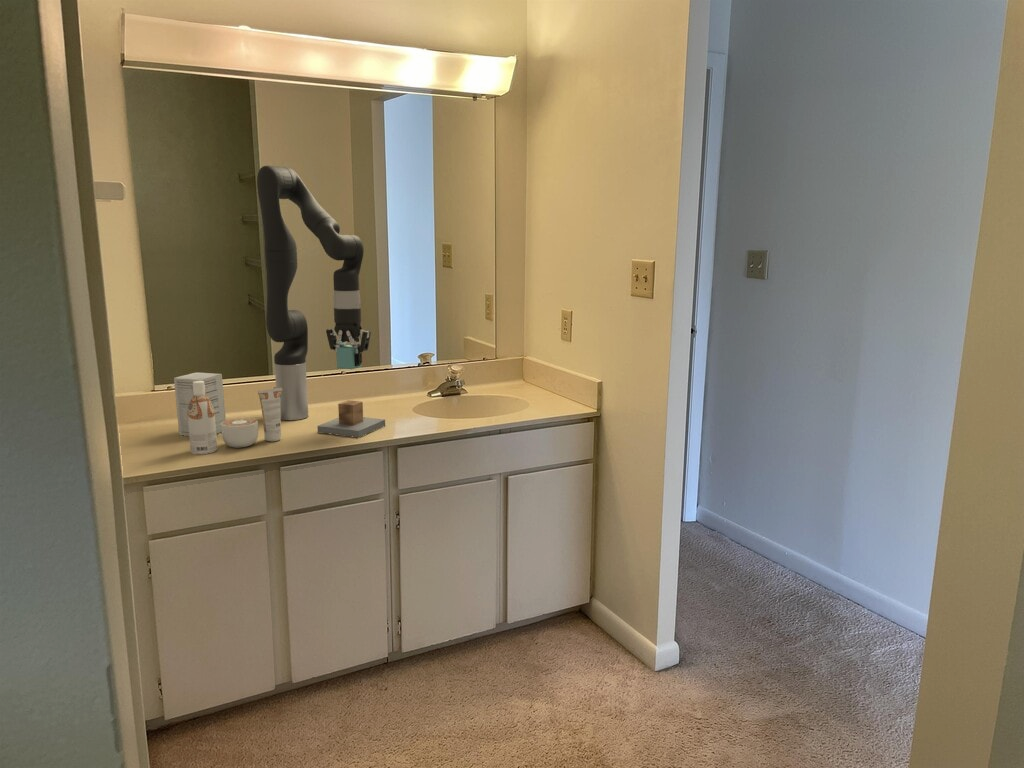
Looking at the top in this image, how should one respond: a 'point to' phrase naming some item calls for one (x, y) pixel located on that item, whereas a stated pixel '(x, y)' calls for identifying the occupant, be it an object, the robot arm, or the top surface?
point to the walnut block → (350, 412)
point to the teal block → (346, 357)
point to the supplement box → (186, 393)
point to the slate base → (351, 427)
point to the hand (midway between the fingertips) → (349, 365)
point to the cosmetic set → (231, 422)
